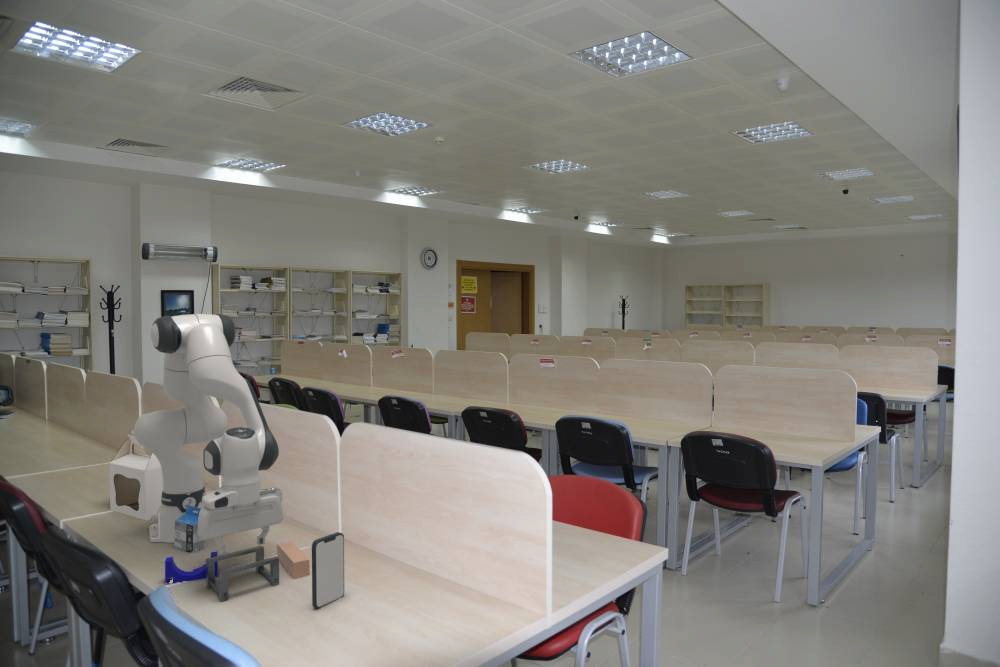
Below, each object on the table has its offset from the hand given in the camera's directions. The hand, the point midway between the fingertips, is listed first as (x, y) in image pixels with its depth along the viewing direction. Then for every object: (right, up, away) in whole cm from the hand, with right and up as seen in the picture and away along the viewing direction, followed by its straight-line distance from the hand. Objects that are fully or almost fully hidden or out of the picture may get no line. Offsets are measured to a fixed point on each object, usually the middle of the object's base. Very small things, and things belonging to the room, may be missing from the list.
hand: (242, 548), depth 161 cm
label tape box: (-25, -9, +25) cm, 36 cm away
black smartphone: (+24, -10, -9) cm, 28 cm away
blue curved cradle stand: (-15, -10, +6) cm, 19 cm away
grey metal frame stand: (0, -10, 0) cm, 10 cm away
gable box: (-57, -8, +60) cm, 83 cm away
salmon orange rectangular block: (+9, -10, +11) cm, 17 cm away
